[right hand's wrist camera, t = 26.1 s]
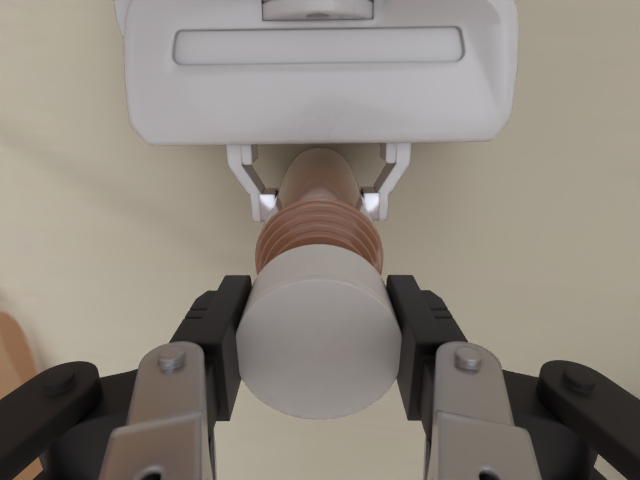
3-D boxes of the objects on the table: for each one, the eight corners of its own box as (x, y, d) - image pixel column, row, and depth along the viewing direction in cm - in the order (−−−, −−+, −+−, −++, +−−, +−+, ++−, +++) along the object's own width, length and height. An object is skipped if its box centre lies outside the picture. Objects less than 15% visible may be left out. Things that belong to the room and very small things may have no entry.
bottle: (306, 134, 28) (279, 216, 9) (366, 169, 29) (451, 309, 10) (273, 193, 29) (194, 367, 11) (331, 225, 30) (350, 434, 12)
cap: (414, 279, 12) (436, 322, 9) (348, 382, 13) (354, 439, 11) (283, 219, 11) (274, 250, 9) (228, 334, 12) (209, 386, 10)
